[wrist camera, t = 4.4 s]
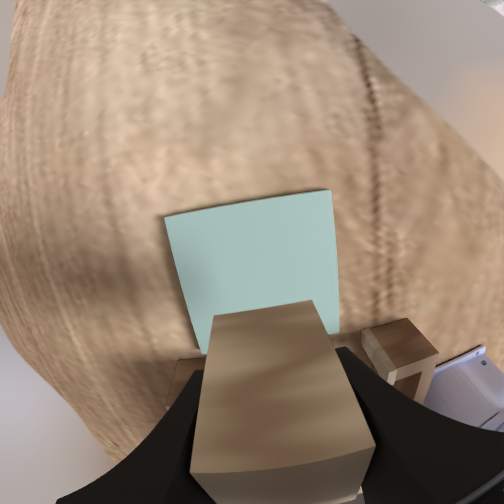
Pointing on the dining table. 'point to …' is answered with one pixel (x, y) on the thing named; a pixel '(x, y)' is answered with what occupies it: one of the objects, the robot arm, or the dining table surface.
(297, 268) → the teal mat
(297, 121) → the dining table surface
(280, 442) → the oak block
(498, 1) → the milk bottle
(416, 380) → the walnut box
